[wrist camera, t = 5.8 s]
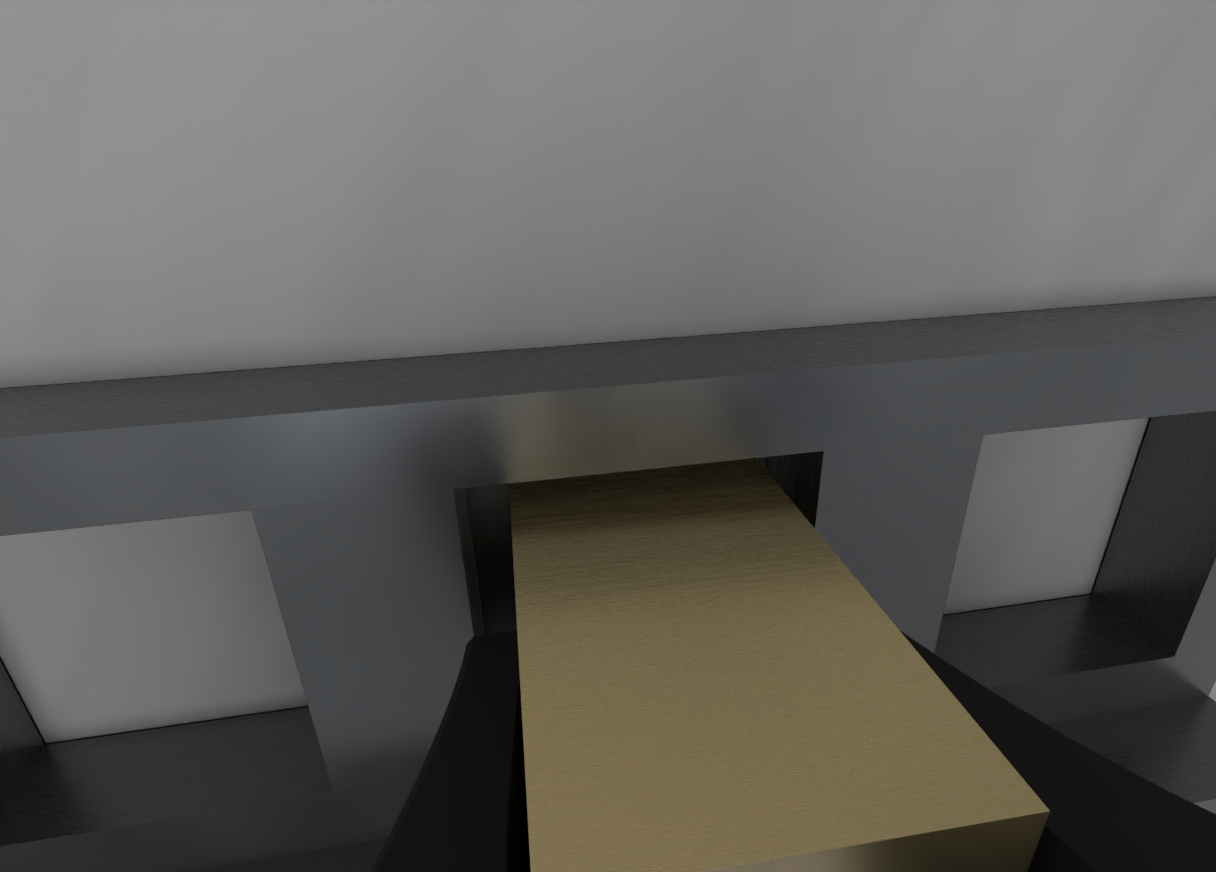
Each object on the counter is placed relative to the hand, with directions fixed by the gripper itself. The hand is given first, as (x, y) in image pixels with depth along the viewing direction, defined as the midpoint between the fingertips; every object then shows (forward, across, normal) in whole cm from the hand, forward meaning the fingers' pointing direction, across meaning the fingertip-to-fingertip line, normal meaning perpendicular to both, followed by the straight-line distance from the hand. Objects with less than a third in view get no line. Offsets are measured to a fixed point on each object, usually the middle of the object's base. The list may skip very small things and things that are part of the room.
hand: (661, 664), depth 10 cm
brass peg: (+3, 0, 0) cm, 3 cm away
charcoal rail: (+3, 0, 0) cm, 3 cm away
